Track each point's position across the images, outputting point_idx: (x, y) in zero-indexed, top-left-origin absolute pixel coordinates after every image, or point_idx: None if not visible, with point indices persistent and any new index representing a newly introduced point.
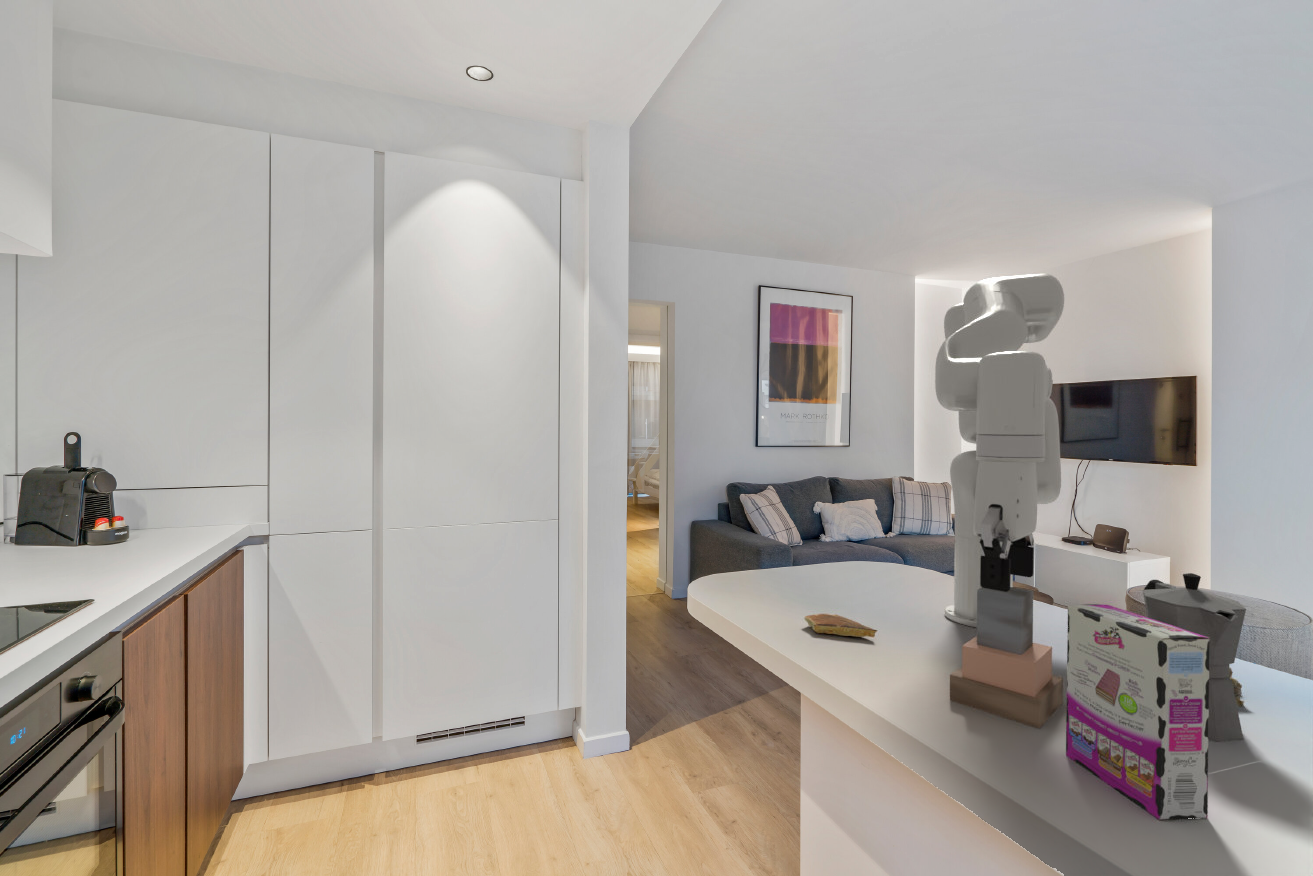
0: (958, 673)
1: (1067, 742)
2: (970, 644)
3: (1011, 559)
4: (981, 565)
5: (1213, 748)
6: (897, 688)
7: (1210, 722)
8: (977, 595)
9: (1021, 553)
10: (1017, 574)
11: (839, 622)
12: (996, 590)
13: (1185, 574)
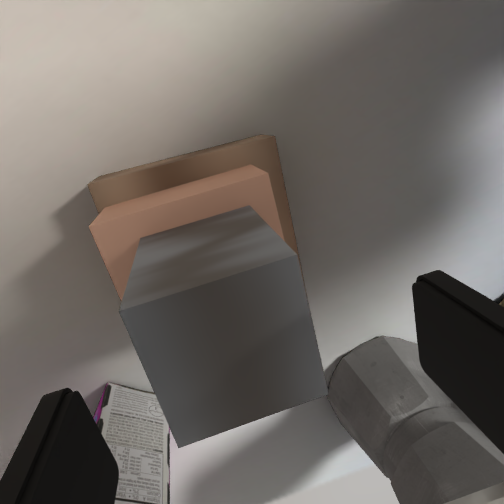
0: (113, 190)
1: (102, 399)
2: (121, 230)
3: (465, 339)
4: (1, 492)
5: (321, 425)
6: (29, 67)
7: (351, 434)
8: (122, 300)
9: (500, 412)
10: (417, 323)
11: None
12: (195, 347)
13: None
